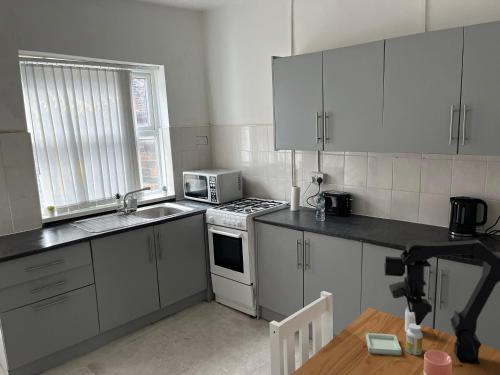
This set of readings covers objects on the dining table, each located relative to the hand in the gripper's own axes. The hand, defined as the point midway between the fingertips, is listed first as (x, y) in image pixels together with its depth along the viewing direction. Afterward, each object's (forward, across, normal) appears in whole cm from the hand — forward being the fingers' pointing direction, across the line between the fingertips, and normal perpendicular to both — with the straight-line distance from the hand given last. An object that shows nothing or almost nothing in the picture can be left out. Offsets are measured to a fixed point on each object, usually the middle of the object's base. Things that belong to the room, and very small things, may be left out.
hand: (414, 318), depth 135 cm
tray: (+12, -2, -10) cm, 16 cm away
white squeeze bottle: (+13, -14, +3) cm, 20 cm away
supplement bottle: (+13, 0, 0) cm, 13 cm away
